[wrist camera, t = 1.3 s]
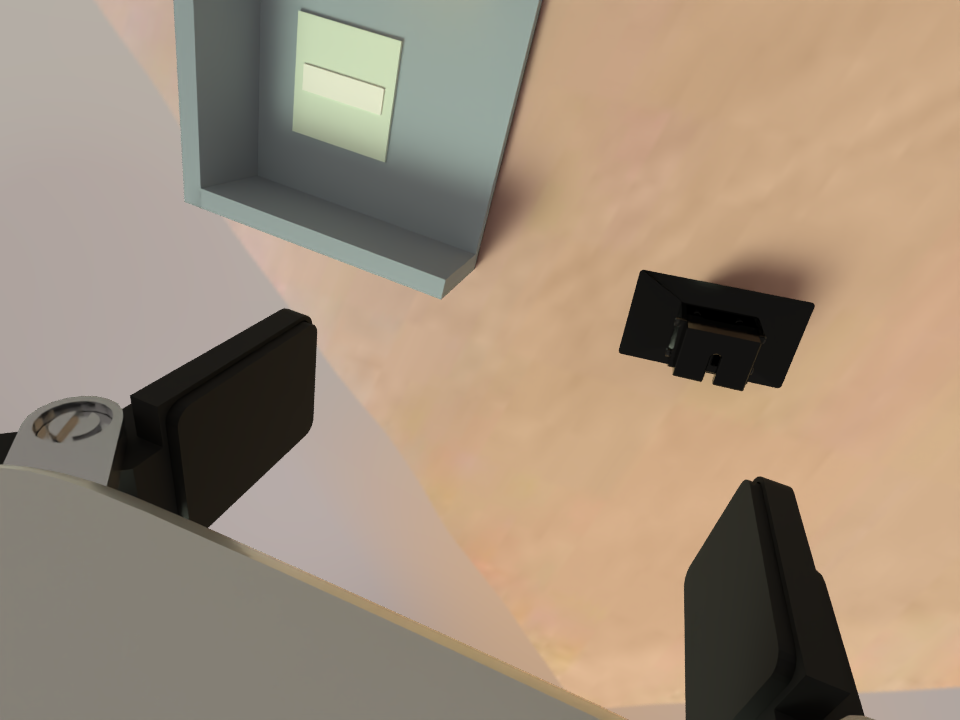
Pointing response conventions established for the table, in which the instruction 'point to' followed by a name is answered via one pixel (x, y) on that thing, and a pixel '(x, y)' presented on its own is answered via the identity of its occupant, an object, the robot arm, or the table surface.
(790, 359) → the black hollow angular block
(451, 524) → the table surface
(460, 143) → the grey blue tray
